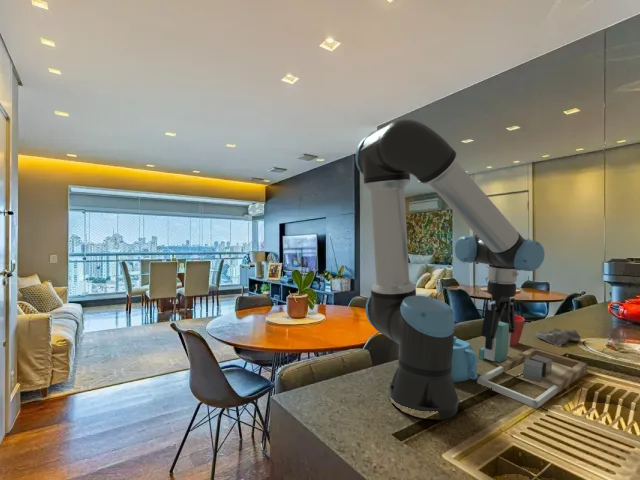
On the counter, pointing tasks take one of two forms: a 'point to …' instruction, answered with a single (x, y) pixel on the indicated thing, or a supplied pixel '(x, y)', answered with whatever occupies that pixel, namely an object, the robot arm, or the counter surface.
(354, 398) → the counter surface
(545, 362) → the block
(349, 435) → the counter surface
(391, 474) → the counter surface
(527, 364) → the block
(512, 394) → the tray
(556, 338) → the stone
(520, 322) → the flower pot
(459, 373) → the teapot
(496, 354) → the rake tool
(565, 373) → the slot board
